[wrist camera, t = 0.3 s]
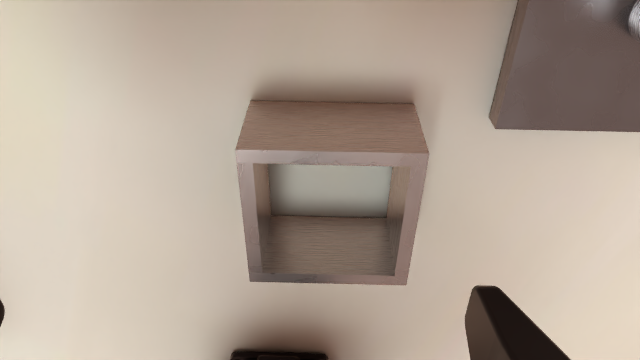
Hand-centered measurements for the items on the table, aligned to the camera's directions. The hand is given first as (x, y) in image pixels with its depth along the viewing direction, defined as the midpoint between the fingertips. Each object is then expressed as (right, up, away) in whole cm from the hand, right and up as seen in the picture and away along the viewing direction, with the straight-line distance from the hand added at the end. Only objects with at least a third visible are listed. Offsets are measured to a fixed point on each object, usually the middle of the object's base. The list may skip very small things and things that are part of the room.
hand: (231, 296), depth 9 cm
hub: (+2, +3, +14) cm, 15 cm away
